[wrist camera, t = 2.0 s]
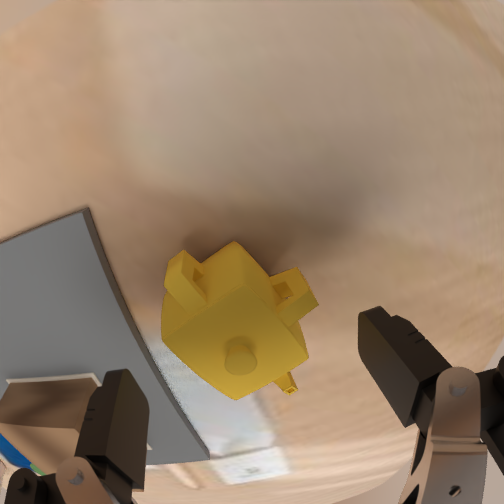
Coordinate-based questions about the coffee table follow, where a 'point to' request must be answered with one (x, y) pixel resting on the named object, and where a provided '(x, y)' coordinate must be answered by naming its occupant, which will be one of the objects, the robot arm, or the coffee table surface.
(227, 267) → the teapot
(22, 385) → the base block
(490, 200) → the coffee table surface
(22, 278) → the gray board
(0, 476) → the white cup
